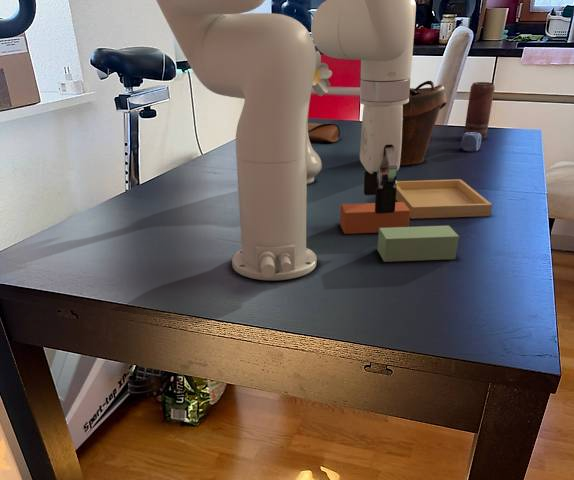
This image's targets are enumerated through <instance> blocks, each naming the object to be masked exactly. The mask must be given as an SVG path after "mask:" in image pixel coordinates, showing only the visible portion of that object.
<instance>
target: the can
mask: <svg viewBox="0 0 574 480" xmlns="http://www.w3.org/2000/svg"><path fill="white" fill-rule="evenodd" d="M494 93H495V83H494V82H487V81H486V82H485V81H476V82H472V85H471V86H470V90H469V97H468V102H467V109H466V117H465V125H464V130H463V135H464V134H465V133H467V132H476V133H480V134H481V141H485V139H486V138H487V135H488V129H489V123H490V117H491V111H492V105H493V98H494Z"/></svg>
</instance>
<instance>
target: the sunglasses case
mask: <svg viewBox="0 0 574 480" xmlns="http://www.w3.org/2000/svg"><path fill="white" fill-rule="evenodd" d="M340 130H341V129H340V127H339V125H338V124H336V123H331V122H329V123H328V122H327V123H316V122H315V123H314V122H313V123H312V122H308V135H309V140H310V143H318V144H319V143H335V142H337V141H339V140H340V136H341V131H340Z"/></svg>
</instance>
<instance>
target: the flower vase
mask: <svg viewBox="0 0 574 480" xmlns="http://www.w3.org/2000/svg"><path fill="white" fill-rule="evenodd" d="M332 76H333V71H332V70H330V69H329V65H328V64H327V63H325V62H322V56H321V53H320V50H316V68H315V75H314V81H313V86H312V90H313V91H314V92H315V94H317V96H319V97H322V96H323V95H324V93H326V94H327V93H328V92H329V91H328V88H329V87H331V86H332V85H331V83H330V81H329V80H328V79H331V77H332ZM322 165H323V163H322V160H321V157H320V155H319V154H318V153H317V152H316V150H315V149H314V148H313V146H312V142H310V140H309V135H308V124H307V185H309V184H312V183H314V182H315V177H316V176H317V175H318V174H320V172H321V170H322V169H323V166H322Z"/></svg>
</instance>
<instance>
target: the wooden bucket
mask: <svg viewBox="0 0 574 480" xmlns="http://www.w3.org/2000/svg"><path fill="white" fill-rule="evenodd" d="M429 85H430V87H424V86H429ZM447 103H448V102H447V95H446V90H445V87H444V85H443V84H438V85H436V86H435V84H434V82H433V81H432V80H426V81H424V82H422V83H420V84H419V85H418V86H416V87H415V88H414V87H410V93H409V102H408V103H406V104H403V117H402V118H403V120H402V144H401V158H400V166H402V167H404V166H413V165H419V164H421V163H423V162H424V161H425V156H426V153H427V151H428V148H429V144H430V141H431V137H432V135H433V132H434V128H435V125H436V123H437V119H438V116H439V113H440V111H441V110H442V109H443V108H444V107H445V106H446V105H447ZM400 166H399V167H400Z"/></svg>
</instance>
